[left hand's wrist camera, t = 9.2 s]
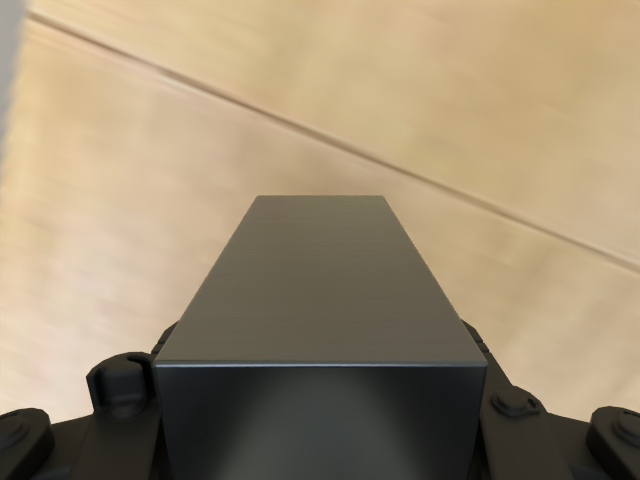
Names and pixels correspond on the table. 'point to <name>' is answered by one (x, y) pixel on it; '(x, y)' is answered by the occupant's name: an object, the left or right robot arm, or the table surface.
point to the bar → (320, 354)
